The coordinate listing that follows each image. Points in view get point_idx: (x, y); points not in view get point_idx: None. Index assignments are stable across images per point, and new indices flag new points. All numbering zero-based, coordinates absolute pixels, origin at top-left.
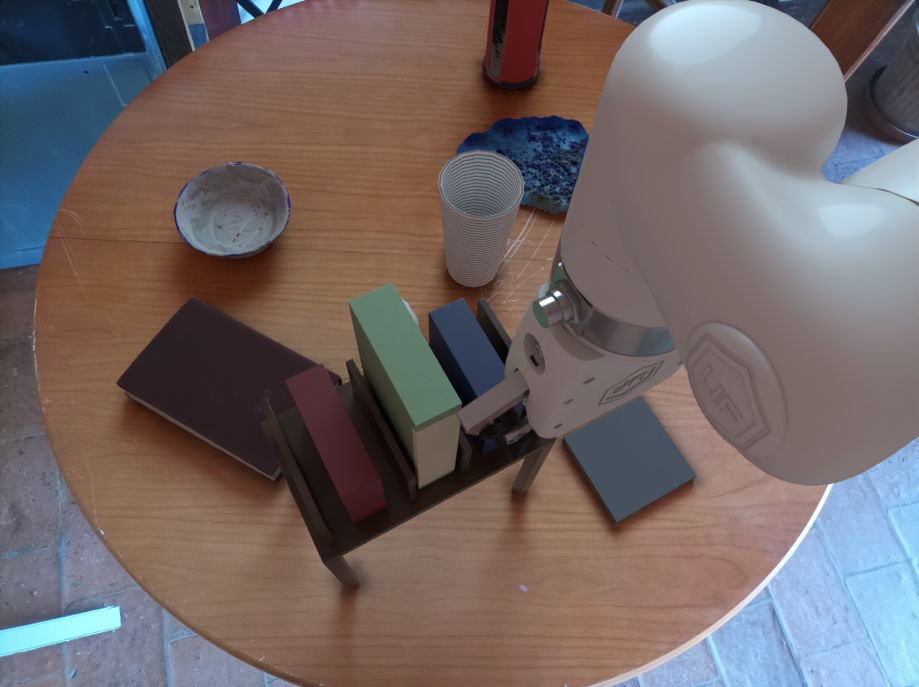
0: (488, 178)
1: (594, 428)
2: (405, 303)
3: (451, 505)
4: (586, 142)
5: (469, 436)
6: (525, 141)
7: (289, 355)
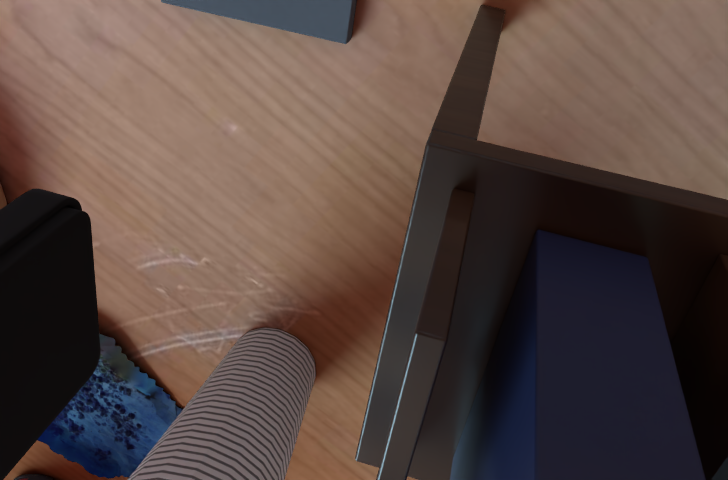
0: None
1: (282, 14)
2: None
3: (620, 88)
4: None
5: None
6: (87, 431)
7: None
